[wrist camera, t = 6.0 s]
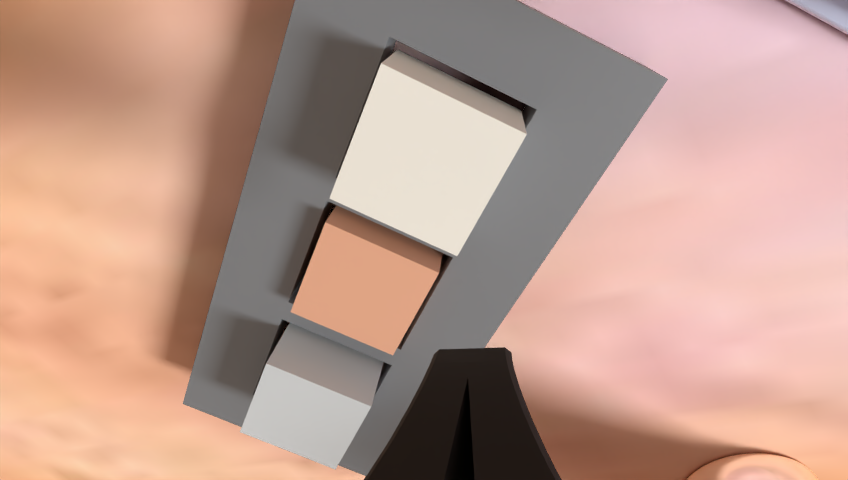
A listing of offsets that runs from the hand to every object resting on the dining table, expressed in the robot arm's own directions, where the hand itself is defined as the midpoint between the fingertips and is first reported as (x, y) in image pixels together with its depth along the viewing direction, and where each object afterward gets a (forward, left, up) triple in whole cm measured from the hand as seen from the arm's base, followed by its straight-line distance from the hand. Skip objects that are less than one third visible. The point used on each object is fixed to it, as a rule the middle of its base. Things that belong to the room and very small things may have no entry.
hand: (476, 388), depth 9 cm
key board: (+3, +4, -9) cm, 11 cm away
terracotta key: (+2, +4, -9) cm, 10 cm away
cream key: (+3, -1, -8) cm, 8 cm away
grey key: (+3, +10, -8) cm, 13 cm away
